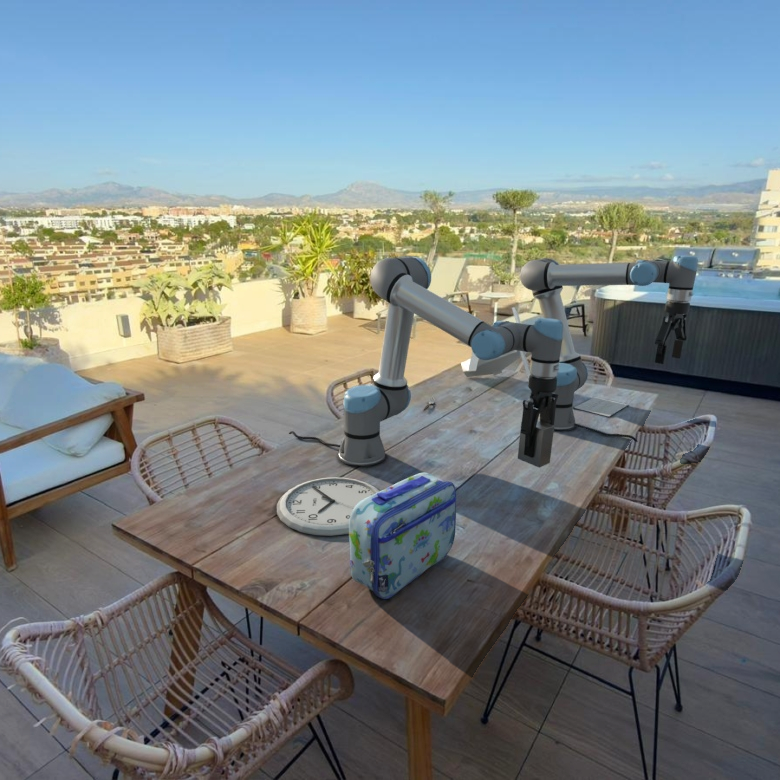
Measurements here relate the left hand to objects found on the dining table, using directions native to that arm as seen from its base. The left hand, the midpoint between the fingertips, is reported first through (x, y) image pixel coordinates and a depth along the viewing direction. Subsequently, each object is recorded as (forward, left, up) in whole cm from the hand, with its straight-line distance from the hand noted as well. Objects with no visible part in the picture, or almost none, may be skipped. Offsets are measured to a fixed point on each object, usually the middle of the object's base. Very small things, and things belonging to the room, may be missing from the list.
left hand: (534, 453), depth 150 cm
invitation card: (+19, +88, -11) cm, 91 cm away
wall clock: (-49, -31, -11) cm, 59 cm away
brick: (0, 0, -2) cm, 2 cm away
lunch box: (-21, -51, -11) cm, 56 cm away
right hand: (+38, +63, +17) cm, 76 cm away
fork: (-50, +58, -11) cm, 78 cm away
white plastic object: (-28, +105, -11) cm, 110 cm away
